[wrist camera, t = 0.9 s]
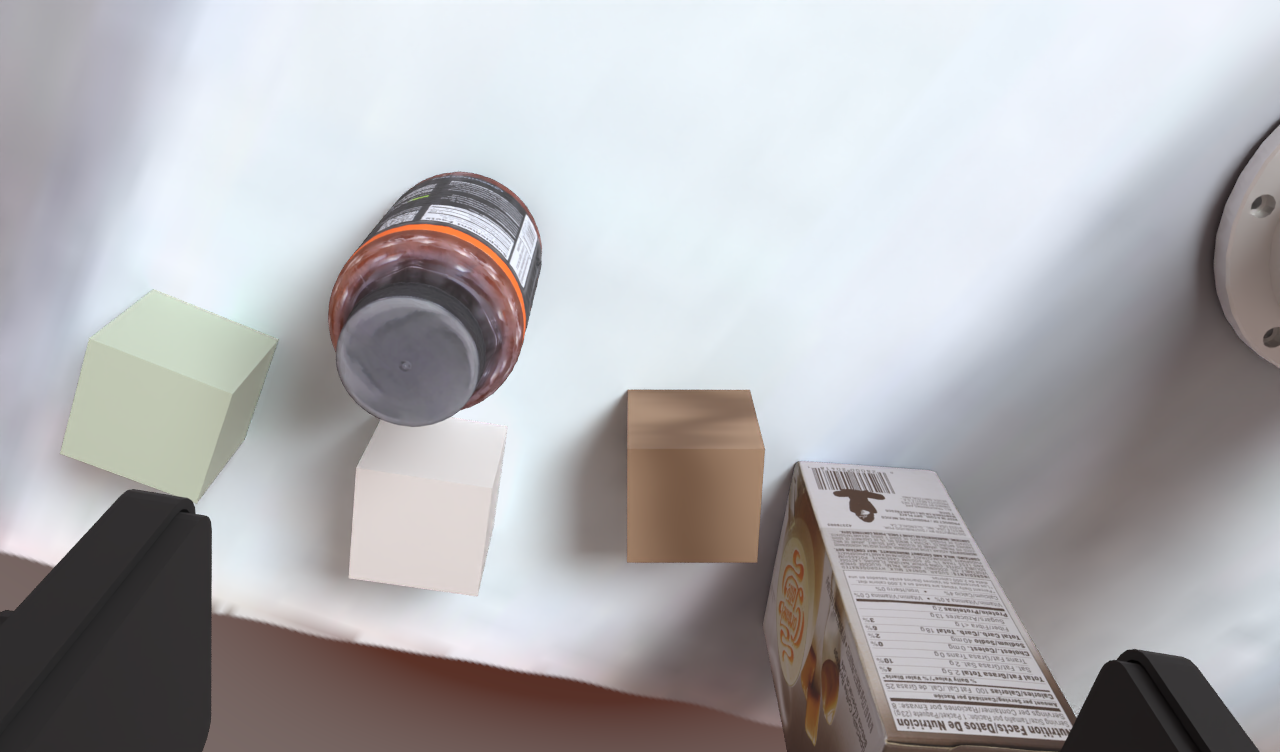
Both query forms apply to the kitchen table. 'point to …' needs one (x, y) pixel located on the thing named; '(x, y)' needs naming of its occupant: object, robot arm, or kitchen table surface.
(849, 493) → the coffee box
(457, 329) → the supplement bottle
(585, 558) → the kitchen table surface
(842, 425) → the kitchen table surface
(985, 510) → the kitchen table surface
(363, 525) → the pale pinkish white cube
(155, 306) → the sage cube
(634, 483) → the walnut cube
